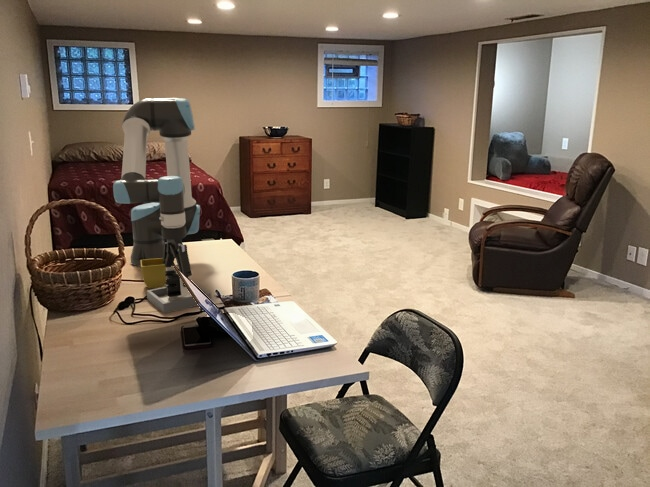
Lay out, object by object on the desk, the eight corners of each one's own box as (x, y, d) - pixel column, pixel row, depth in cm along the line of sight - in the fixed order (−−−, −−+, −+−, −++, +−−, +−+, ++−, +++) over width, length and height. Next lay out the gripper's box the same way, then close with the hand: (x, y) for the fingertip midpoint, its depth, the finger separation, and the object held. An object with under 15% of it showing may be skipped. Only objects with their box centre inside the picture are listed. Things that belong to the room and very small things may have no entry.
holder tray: (147, 299, 188) (146, 290, 188) (192, 289, 197) (192, 281, 197) (163, 313, 177) (163, 303, 176) (211, 302, 186) (210, 293, 185)
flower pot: (167, 281, 207) (165, 257, 204) (169, 288, 199) (167, 264, 196) (142, 283, 204) (140, 259, 202) (143, 291, 196) (140, 266, 194)
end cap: (191, 295, 183) (189, 275, 181) (168, 297, 181) (166, 277, 179) (188, 285, 192) (186, 266, 190) (166, 287, 190) (164, 268, 188)
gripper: (149, 220, 188) (154, 283, 193) (176, 234, 169) (181, 303, 175) (170, 217, 192) (175, 279, 197) (199, 230, 173) (204, 298, 179)
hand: (178, 290), depth 186 cm, fingers closed on end cap, 11 cm apart
